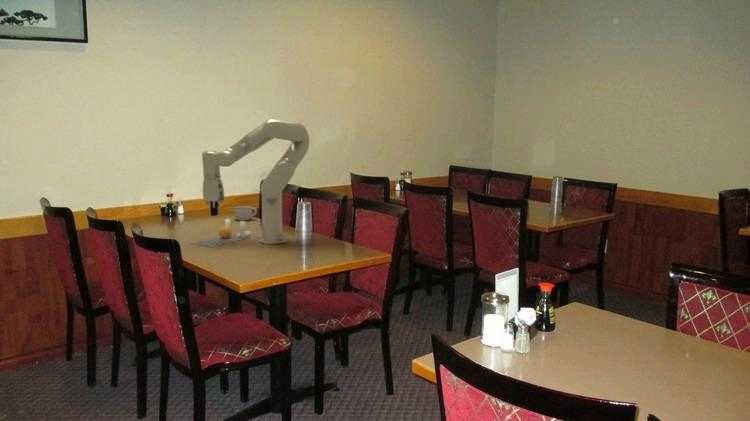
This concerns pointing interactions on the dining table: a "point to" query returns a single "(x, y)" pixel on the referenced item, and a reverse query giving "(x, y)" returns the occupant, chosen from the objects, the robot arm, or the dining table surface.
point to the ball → (225, 232)
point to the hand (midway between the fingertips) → (214, 215)
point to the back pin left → (242, 229)
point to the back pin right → (227, 223)
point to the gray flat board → (218, 241)
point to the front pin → (245, 234)
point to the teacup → (244, 213)
